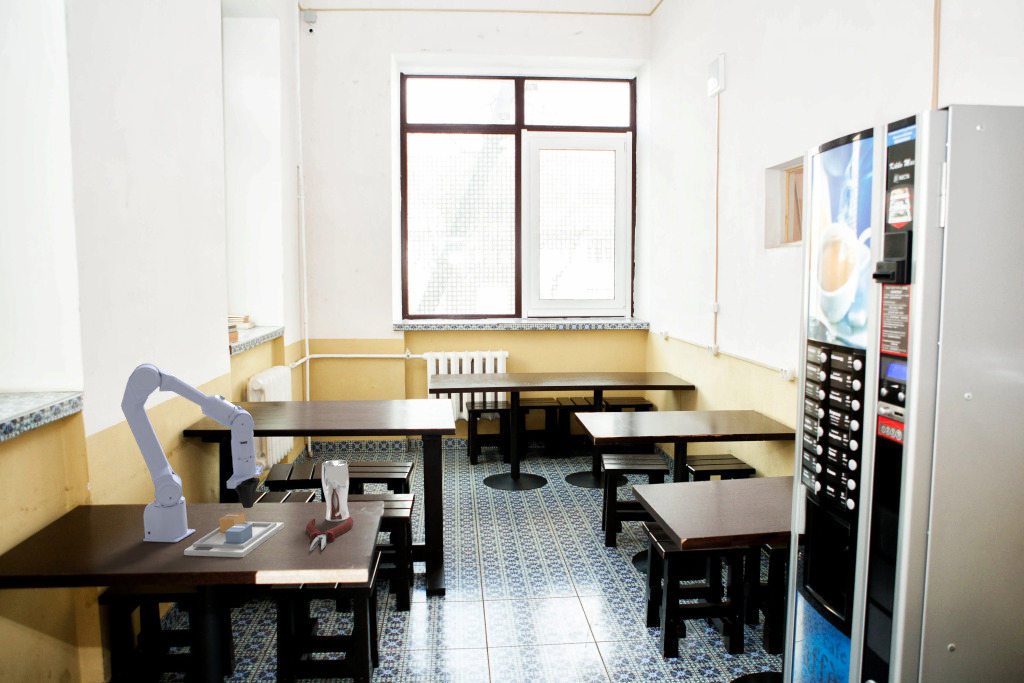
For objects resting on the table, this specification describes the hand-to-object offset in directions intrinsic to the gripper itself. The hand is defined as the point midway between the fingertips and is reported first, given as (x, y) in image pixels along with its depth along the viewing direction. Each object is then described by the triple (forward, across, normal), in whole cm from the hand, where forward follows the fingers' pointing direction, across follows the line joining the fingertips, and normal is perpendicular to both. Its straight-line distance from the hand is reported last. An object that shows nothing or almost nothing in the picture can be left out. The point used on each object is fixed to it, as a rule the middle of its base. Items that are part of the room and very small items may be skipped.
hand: (248, 507), depth 193 cm
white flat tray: (+4, -12, -3) cm, 13 cm away
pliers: (+5, -7, -23) cm, 25 cm away
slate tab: (+3, -16, -6) cm, 17 cm away
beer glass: (+5, +6, -22) cm, 23 cm away
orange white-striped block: (+3, -8, 0) cm, 8 cm away
